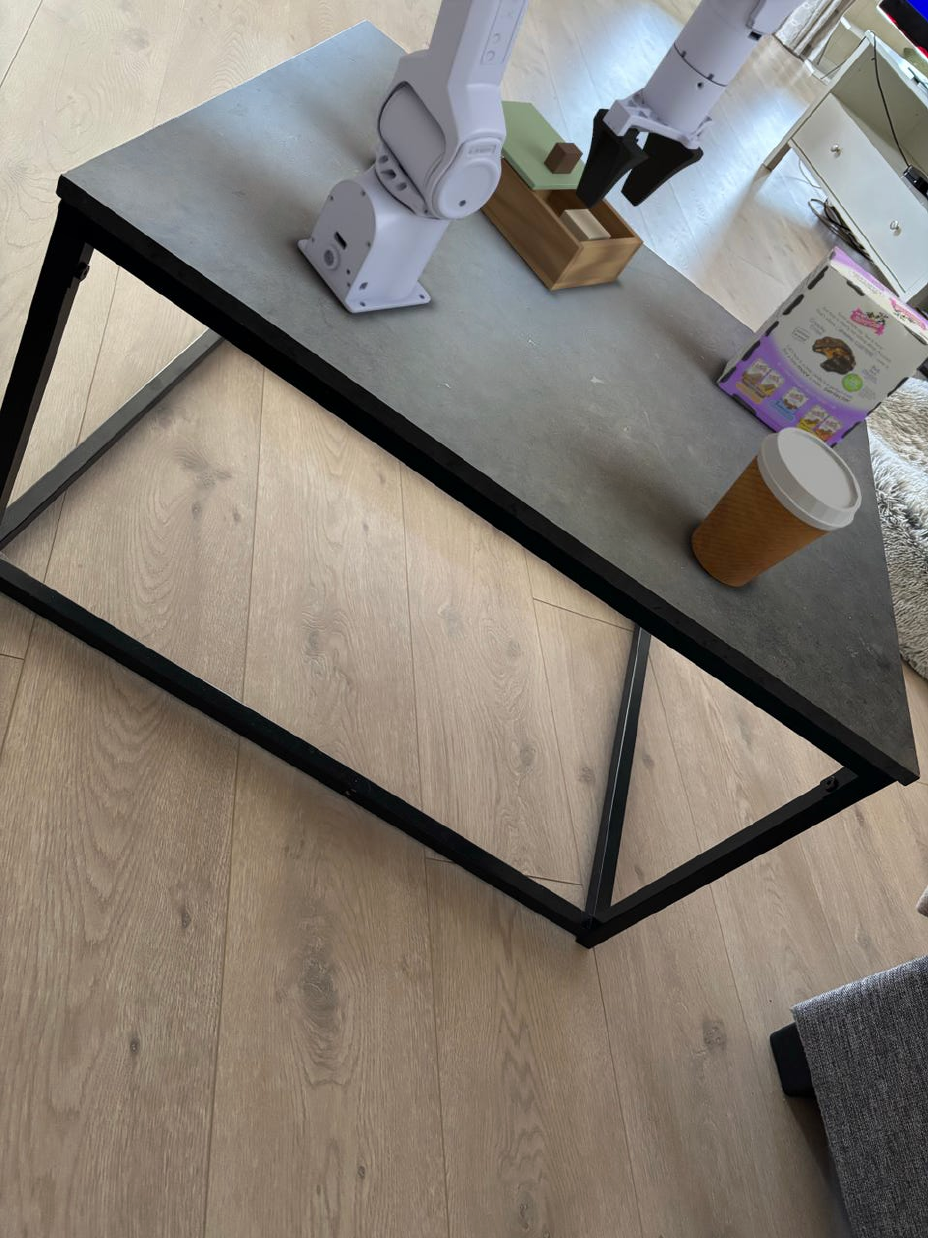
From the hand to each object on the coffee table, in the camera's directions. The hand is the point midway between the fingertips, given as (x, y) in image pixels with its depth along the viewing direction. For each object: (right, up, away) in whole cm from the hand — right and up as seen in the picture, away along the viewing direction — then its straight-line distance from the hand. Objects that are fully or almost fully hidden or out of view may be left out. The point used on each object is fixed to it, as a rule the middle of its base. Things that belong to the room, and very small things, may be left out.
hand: (606, 199), depth 90 cm
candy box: (+20, -17, +15) cm, 30 cm away
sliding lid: (-7, +9, +9) cm, 14 cm away
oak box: (-5, 0, +11) cm, 12 cm away
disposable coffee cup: (+9, -34, -5) cm, 35 cm away
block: (-3, -1, +10) cm, 10 cm away
